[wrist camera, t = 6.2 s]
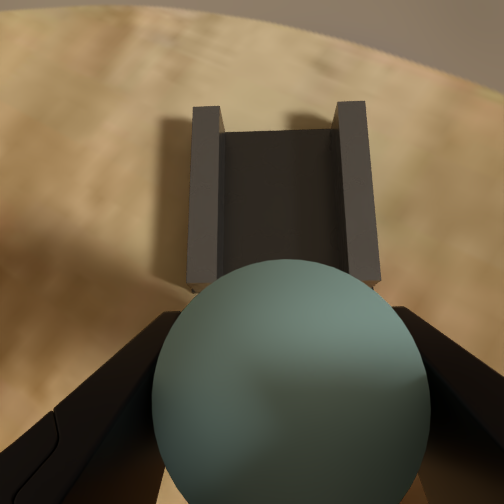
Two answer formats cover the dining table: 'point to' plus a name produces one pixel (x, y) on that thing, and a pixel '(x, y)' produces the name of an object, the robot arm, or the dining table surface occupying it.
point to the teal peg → (290, 391)
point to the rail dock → (281, 197)
